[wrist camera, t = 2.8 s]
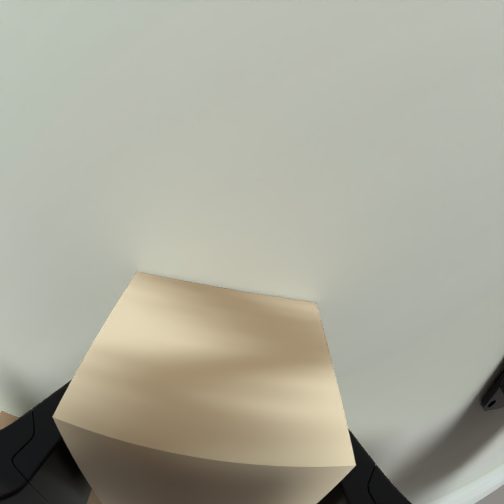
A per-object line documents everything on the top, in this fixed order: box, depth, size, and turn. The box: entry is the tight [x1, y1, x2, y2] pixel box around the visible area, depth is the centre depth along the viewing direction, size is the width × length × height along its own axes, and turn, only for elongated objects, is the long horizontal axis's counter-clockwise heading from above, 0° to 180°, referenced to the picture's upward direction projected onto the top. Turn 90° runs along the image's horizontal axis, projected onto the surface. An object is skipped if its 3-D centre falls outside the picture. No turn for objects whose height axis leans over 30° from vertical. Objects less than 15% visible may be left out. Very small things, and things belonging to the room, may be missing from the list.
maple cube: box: [53, 272, 356, 504], centre depth 7 cm, size 5×5×5 cm
